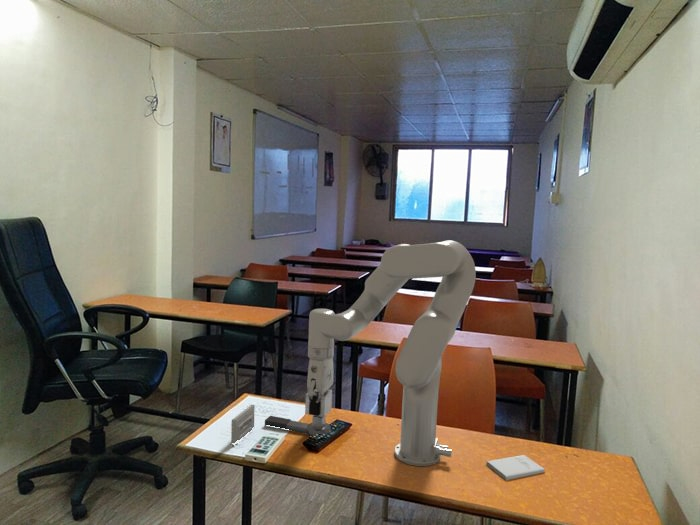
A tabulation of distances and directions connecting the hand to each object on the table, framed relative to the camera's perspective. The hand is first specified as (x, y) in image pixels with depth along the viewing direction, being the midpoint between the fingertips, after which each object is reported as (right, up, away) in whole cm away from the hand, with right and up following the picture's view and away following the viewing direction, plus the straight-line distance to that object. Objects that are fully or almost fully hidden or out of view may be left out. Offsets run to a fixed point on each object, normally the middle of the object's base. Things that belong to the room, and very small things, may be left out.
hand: (318, 409), depth 147 cm
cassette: (-22, -7, -3) cm, 23 cm away
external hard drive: (+53, -12, -15) cm, 57 cm away
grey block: (0, -1, 0) cm, 1 cm away
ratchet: (-6, -7, +2) cm, 9 cm away
